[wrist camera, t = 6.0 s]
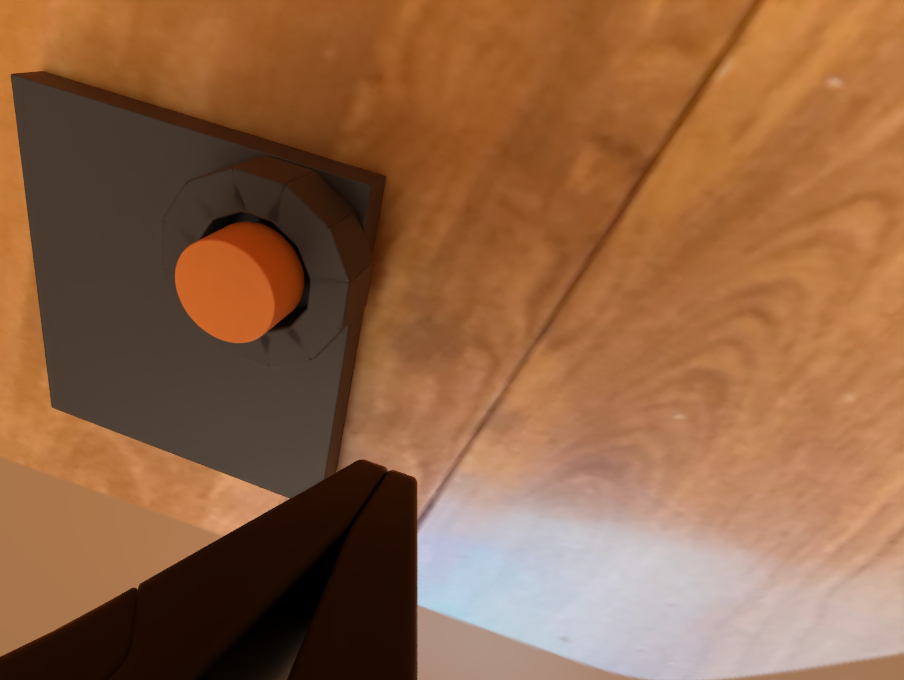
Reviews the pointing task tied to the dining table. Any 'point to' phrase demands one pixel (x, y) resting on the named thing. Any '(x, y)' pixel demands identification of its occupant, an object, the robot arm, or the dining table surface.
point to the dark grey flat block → (154, 290)
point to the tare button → (239, 281)
